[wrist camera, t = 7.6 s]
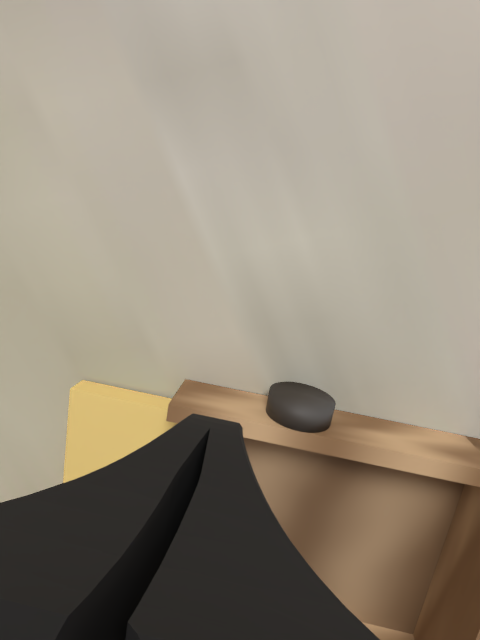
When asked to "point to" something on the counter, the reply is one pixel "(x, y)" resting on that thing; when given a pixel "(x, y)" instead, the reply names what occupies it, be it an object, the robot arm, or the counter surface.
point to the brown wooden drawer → (365, 504)
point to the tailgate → (109, 425)
